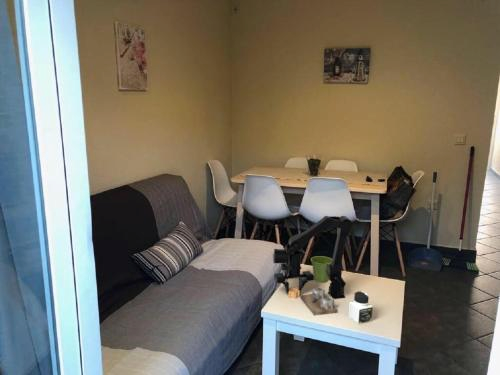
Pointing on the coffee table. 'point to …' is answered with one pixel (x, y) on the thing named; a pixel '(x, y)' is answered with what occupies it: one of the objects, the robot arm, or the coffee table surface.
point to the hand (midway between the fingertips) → (293, 293)
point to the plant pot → (320, 268)
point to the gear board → (319, 302)
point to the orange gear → (293, 293)
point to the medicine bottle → (360, 308)
